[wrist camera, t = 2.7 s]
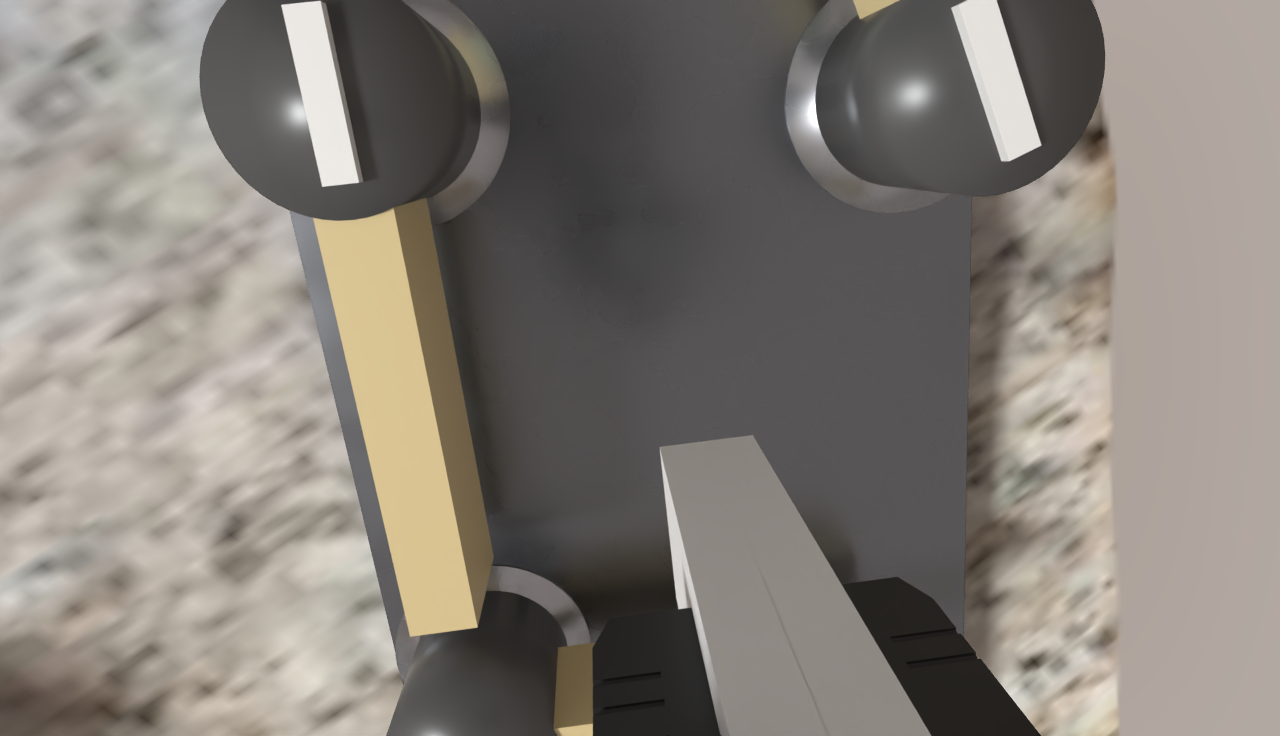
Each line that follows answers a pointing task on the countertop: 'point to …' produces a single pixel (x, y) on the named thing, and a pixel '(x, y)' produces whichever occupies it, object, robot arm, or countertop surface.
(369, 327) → the knob
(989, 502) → the countertop surface
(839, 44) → the knob
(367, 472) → the dark grey knob panel
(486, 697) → the knob
